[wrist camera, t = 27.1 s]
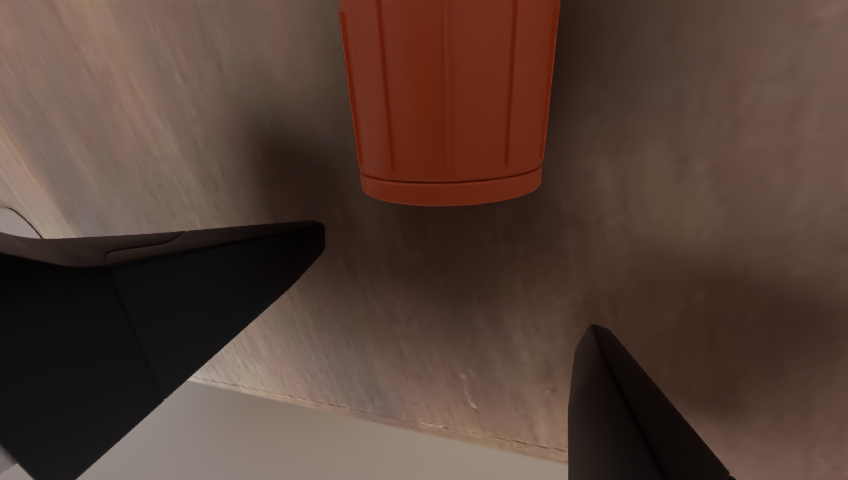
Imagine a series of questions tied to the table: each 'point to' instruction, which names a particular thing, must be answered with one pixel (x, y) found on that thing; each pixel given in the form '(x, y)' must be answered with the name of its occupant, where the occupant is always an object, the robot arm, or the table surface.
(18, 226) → the pill bottle
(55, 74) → the table surface
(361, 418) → the table surface
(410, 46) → the cap
